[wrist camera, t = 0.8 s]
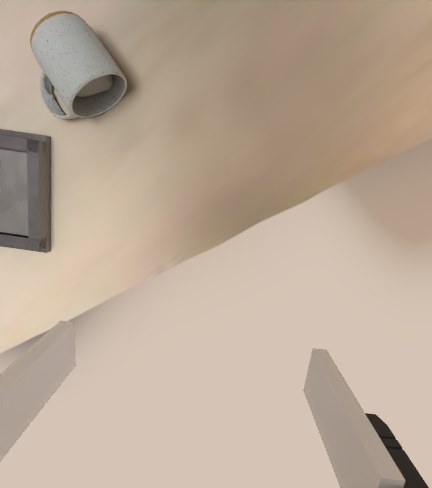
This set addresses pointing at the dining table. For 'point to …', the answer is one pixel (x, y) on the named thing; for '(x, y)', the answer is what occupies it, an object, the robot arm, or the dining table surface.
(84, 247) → the dining table surface
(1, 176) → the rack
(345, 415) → the robot arm
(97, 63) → the ceramic mug
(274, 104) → the dining table surface
